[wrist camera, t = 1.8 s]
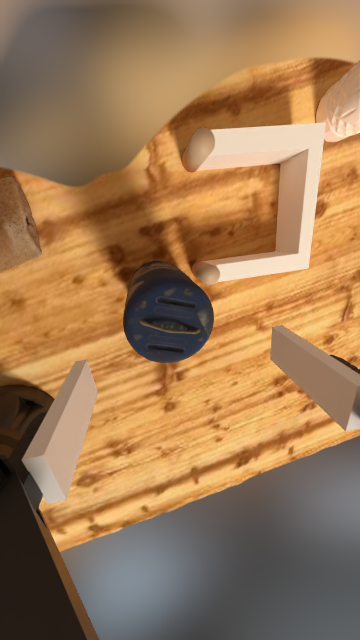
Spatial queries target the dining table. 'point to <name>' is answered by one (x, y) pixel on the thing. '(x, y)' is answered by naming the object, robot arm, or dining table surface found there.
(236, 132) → the bracket
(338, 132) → the white cup
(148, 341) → the canister
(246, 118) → the dining table surface
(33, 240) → the stone cup
